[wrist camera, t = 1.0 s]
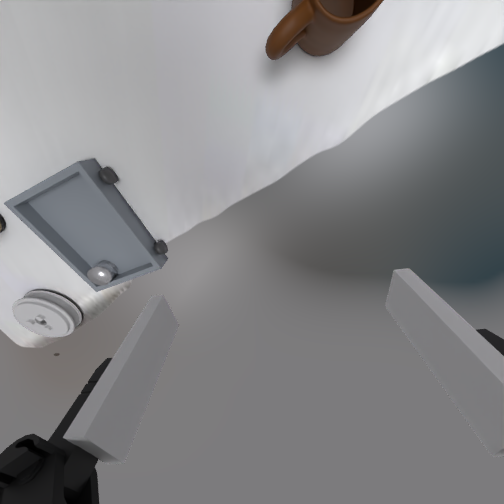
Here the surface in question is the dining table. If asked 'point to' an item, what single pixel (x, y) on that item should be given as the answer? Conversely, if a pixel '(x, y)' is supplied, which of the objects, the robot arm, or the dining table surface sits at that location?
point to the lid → (47, 314)
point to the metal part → (102, 272)
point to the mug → (319, 25)
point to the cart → (89, 223)
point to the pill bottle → (2, 224)
